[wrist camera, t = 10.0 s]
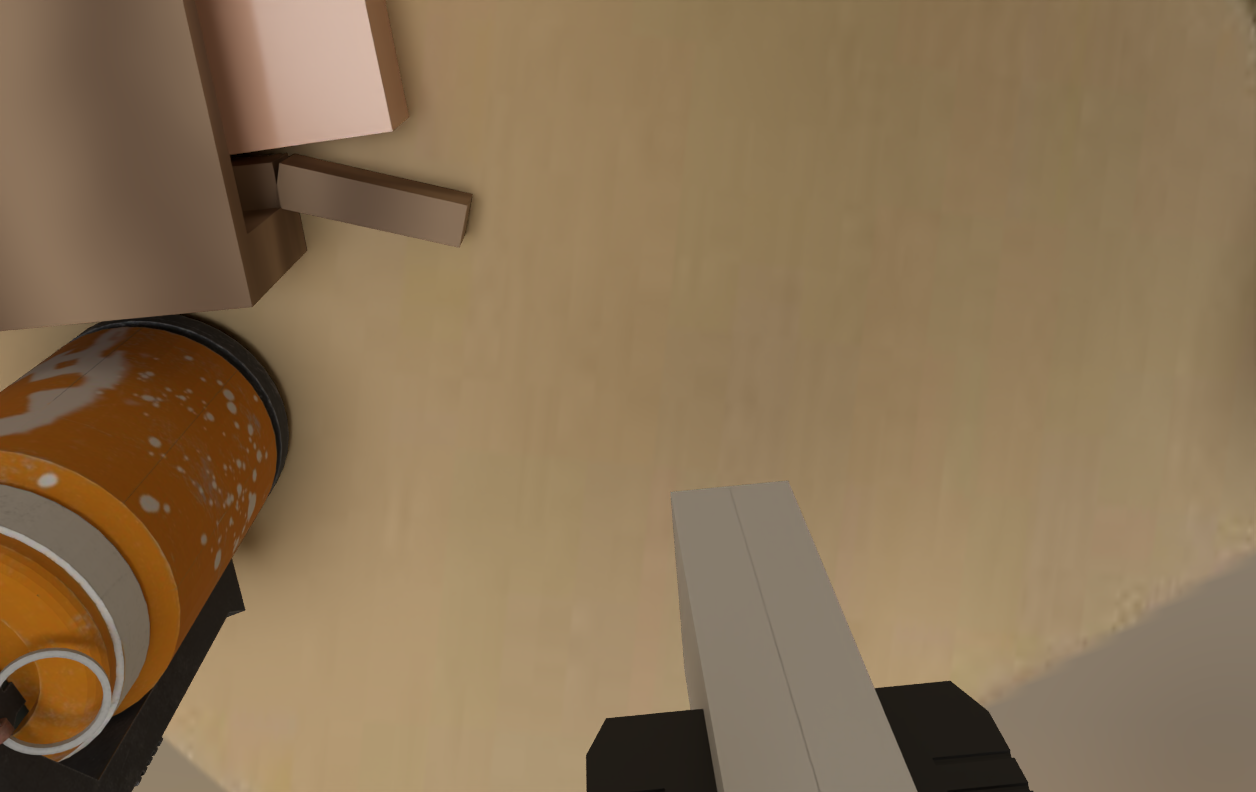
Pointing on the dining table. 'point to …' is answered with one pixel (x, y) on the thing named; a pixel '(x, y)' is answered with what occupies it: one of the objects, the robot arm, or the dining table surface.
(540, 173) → the dining table surface
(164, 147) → the shelf
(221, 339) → the canister
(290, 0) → the pink foam brick
